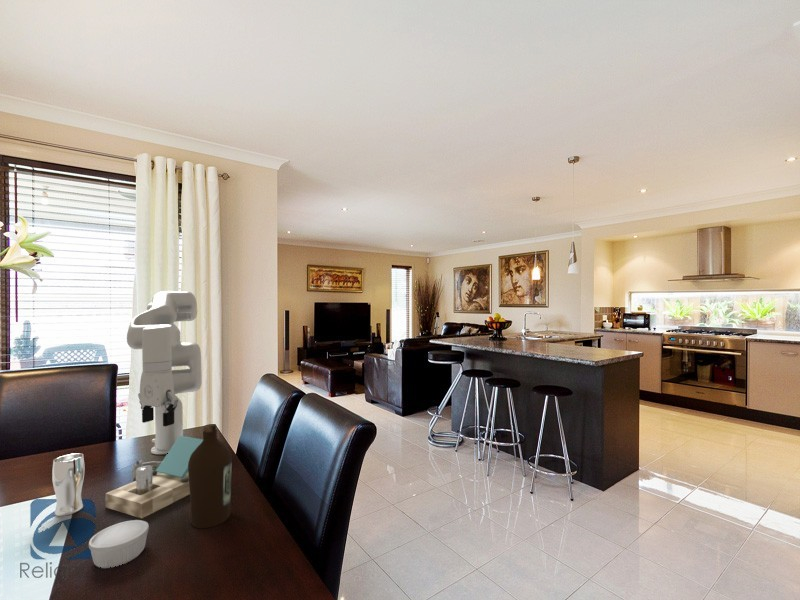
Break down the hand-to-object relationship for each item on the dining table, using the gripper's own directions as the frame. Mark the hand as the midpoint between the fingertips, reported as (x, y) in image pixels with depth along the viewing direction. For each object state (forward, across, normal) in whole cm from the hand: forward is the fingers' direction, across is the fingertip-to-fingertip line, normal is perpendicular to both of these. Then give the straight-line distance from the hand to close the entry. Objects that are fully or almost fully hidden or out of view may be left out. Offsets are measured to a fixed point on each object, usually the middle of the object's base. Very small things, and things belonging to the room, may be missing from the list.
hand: (158, 423), depth 118 cm
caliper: (+23, -17, +13) cm, 31 cm away
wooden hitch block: (+22, 0, 0) cm, 22 cm away
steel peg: (+22, 0, -4) cm, 22 cm away
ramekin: (+22, +20, -22) cm, 37 cm away
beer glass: (+22, -16, -16) cm, 31 cm away
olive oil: (+22, +26, -3) cm, 34 cm away
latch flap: (+13, 0, +8) cm, 15 cm away
